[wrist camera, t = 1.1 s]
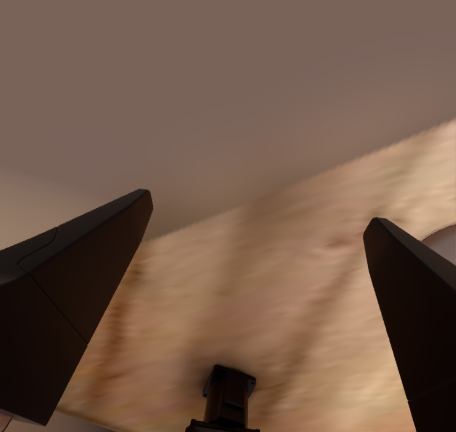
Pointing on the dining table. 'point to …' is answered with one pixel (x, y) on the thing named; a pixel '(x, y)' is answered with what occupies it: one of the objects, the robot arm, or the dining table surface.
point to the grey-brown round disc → (443, 243)
